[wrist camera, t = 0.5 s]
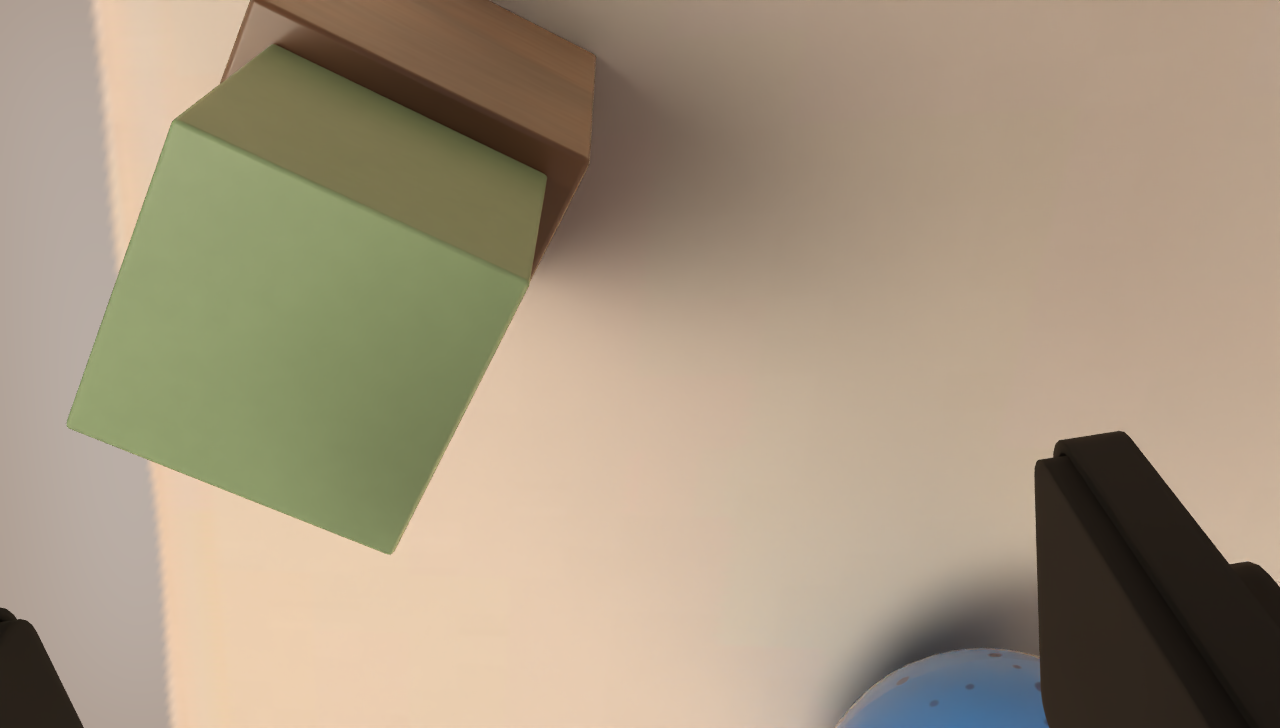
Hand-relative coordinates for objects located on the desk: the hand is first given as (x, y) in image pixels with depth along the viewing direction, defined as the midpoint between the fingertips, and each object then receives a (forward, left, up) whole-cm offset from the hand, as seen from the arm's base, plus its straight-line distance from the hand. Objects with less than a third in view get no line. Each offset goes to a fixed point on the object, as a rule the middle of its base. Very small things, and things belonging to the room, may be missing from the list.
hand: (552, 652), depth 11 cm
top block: (-3, -1, -9) cm, 10 cm away
